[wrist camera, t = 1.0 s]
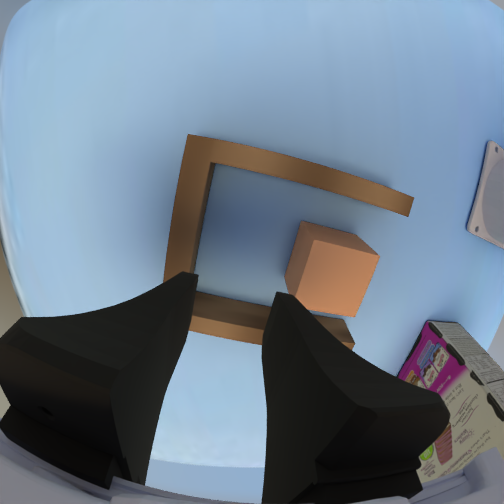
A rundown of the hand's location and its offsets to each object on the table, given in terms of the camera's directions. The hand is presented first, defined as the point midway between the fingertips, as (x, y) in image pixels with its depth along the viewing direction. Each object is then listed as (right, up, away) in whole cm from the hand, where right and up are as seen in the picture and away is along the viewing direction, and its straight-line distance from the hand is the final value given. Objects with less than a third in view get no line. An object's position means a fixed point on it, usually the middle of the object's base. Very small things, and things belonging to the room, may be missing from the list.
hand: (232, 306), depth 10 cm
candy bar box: (+17, -9, +13) cm, 23 cm away
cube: (+5, +2, +8) cm, 10 cm away
